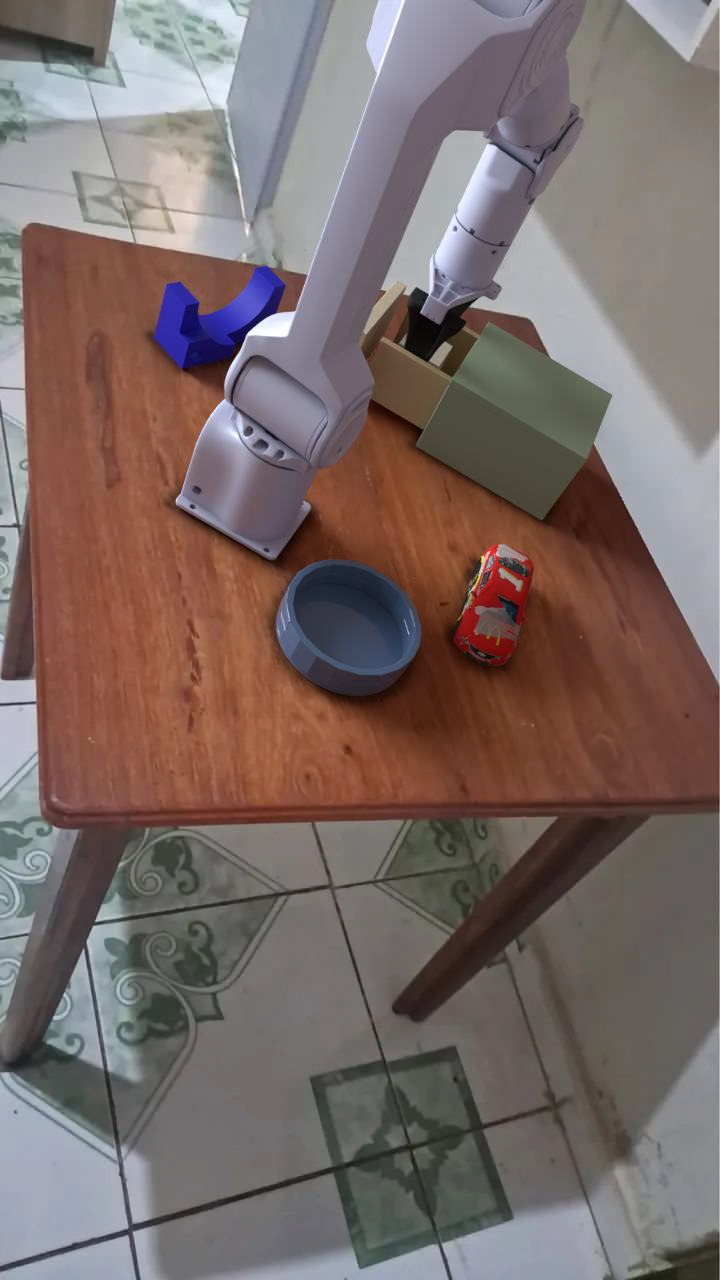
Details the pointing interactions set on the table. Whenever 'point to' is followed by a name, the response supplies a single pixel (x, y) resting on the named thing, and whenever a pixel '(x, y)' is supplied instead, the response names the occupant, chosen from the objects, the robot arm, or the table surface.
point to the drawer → (408, 364)
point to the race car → (494, 606)
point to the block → (439, 355)
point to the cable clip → (214, 320)
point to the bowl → (347, 627)
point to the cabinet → (516, 421)
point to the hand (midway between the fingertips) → (422, 348)
